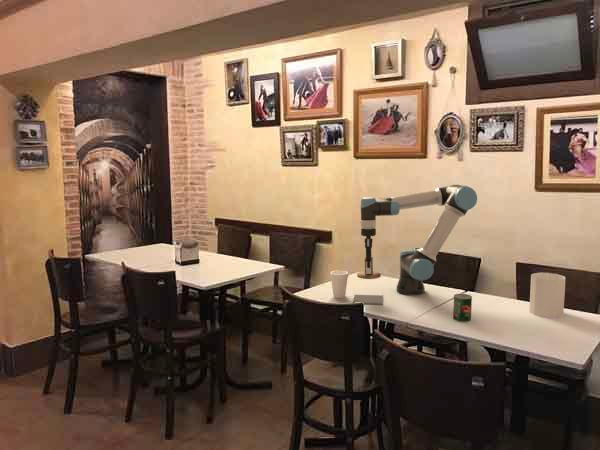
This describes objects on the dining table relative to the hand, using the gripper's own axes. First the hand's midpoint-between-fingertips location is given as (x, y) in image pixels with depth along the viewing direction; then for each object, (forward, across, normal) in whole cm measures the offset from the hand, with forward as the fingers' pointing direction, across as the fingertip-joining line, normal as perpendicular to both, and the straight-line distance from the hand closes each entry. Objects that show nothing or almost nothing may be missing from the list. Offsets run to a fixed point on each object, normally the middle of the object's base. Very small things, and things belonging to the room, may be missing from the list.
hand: (368, 272), depth 262 cm
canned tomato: (+15, +26, +43) cm, 52 cm away
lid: (+2, 0, 0) cm, 2 cm away
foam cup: (+15, -5, -16) cm, 22 cm away
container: (+16, +12, +83) cm, 85 cm away
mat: (+15, 0, 0) cm, 15 cm away
